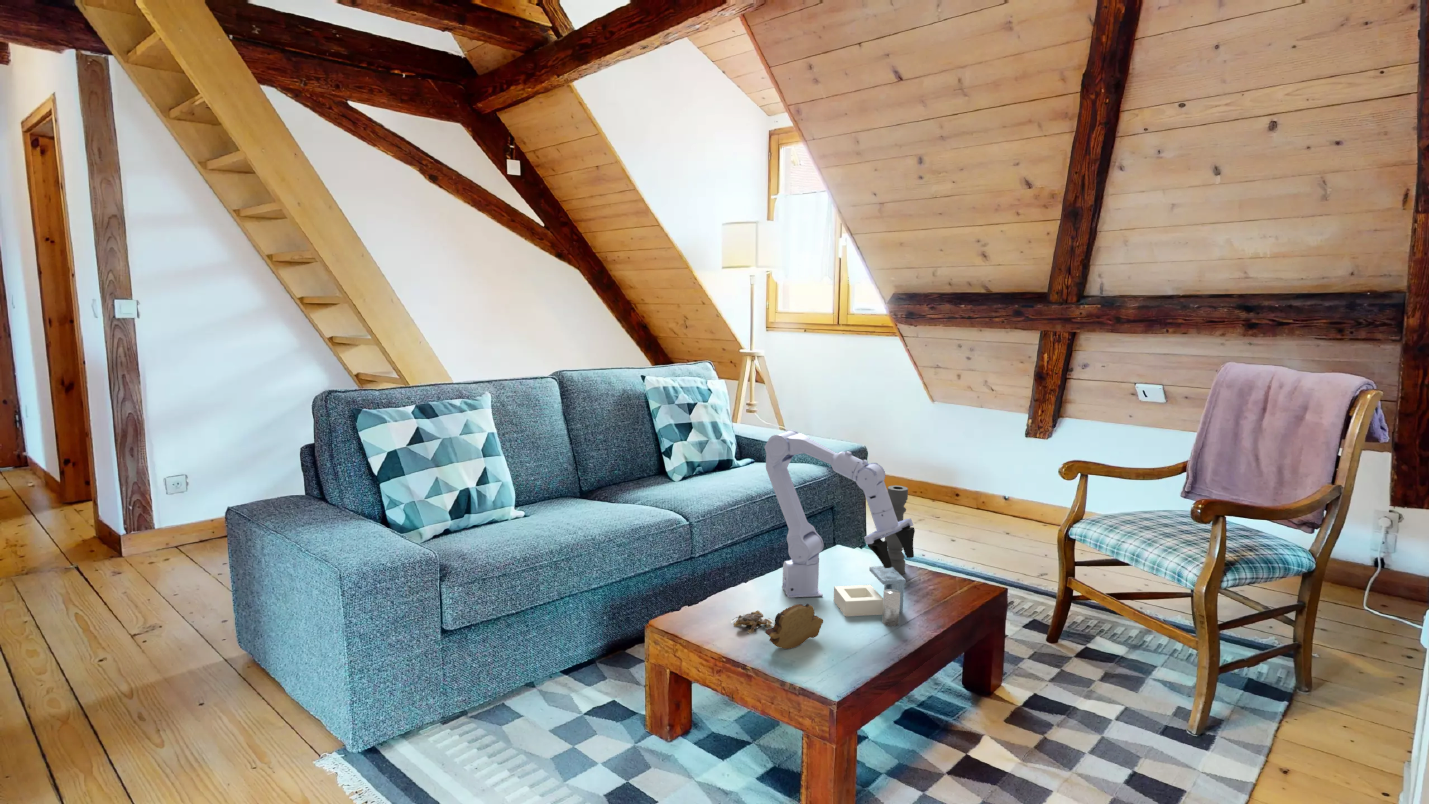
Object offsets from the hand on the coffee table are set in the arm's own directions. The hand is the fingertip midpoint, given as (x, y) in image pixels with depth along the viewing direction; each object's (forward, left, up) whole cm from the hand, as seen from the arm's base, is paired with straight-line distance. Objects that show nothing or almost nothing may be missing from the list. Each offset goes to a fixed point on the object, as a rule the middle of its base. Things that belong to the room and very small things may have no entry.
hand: (899, 562), depth 203 cm
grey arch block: (-1, +5, -14) cm, 15 cm away
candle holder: (+10, +29, -14) cm, 34 cm away
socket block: (-9, +5, -14) cm, 17 cm away
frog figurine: (-38, -2, -14) cm, 40 cm away
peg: (-4, -5, -14) cm, 15 cm away
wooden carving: (-31, -14, -14) cm, 36 cm away
